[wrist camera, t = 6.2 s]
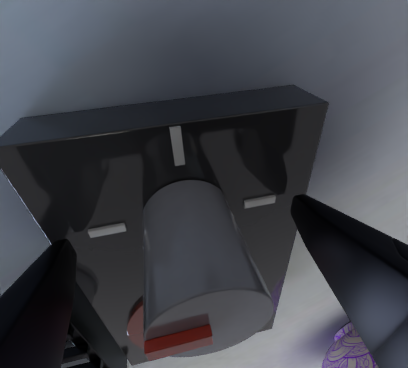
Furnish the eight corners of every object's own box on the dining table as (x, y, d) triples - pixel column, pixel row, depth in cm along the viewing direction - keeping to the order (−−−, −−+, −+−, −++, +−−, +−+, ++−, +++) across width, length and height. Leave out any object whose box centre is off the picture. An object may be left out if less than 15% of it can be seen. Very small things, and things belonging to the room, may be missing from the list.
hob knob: (228, 171, 9) (289, 286, 5) (228, 234, 11) (272, 348, 8) (132, 188, 9) (126, 326, 5) (151, 251, 11) (157, 380, 7)
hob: (259, 298, 21) (273, 331, 19) (132, 330, 20) (131, 368, 18) (294, 84, 10) (333, 103, 8) (19, 117, 9) (-18, 151, 7)
